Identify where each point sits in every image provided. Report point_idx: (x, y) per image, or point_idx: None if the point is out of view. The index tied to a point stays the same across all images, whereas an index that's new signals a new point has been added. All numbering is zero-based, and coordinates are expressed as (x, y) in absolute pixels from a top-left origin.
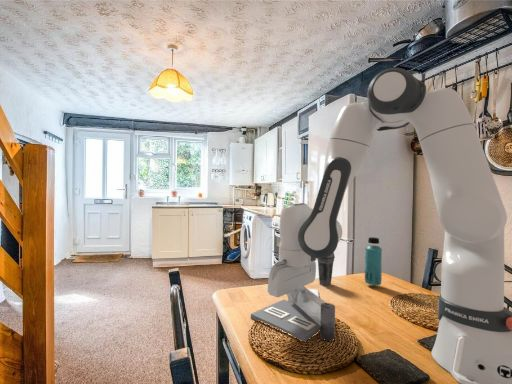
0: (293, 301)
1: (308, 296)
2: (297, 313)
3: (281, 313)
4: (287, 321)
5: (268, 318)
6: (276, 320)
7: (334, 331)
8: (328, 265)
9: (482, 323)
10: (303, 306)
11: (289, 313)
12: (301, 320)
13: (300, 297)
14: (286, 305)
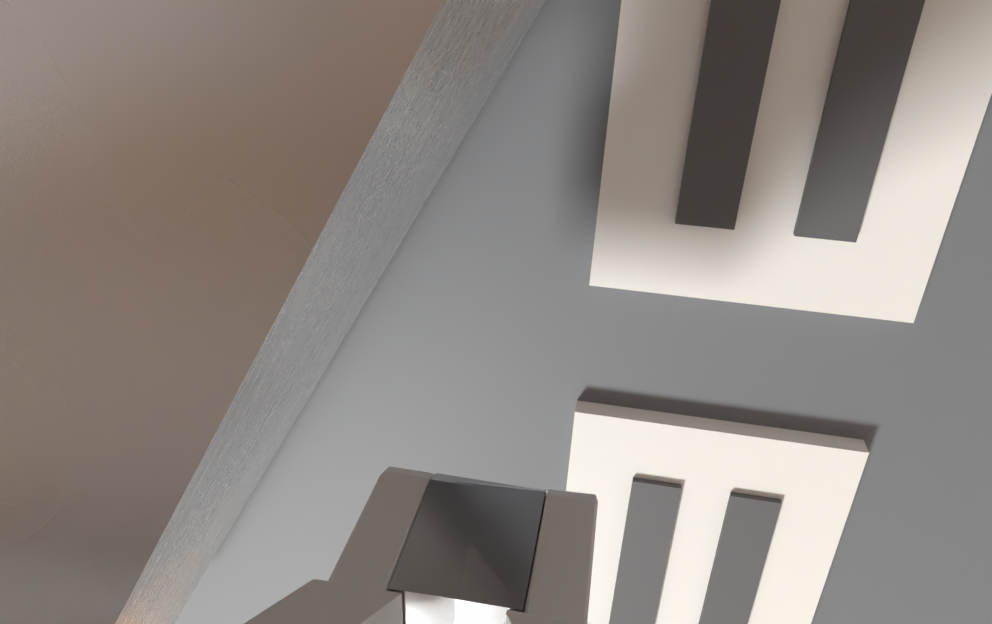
0: (568, 554)
1: (293, 66)
2: (419, 314)
3: (674, 529)
4: (908, 304)
5: (977, 615)
6: (986, 485)
7: None
8: None
9: None
10: (400, 231)
11: (532, 427)
12: (732, 55)
13: (223, 501)
14: (299, 582)
